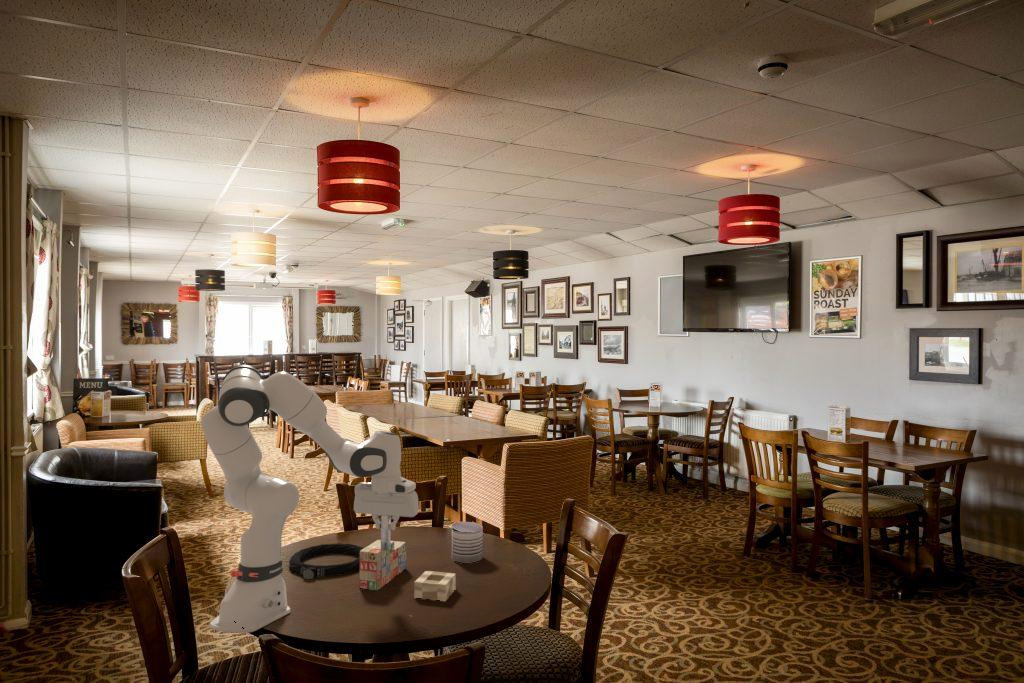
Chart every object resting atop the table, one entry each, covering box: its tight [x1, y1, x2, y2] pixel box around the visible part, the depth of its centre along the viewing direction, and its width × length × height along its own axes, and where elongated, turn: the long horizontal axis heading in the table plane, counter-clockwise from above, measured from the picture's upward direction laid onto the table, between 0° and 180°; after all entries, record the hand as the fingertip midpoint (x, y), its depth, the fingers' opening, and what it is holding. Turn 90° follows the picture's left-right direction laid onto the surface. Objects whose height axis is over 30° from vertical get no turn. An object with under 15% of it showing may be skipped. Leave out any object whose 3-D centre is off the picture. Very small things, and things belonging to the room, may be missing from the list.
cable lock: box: [288, 542, 365, 580], centre depth 232 cm, size 28×4×30 cm
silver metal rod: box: [380, 515, 392, 551], centre depth 203 cm, size 3×3×14 cm
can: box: [451, 521, 484, 563], centre depth 239 cm, size 11×11×12 cm
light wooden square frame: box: [413, 570, 457, 602], centre depth 206 cm, size 10×10×5 cm
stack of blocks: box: [359, 539, 407, 591], centre depth 219 cm, size 21×6×12 cm, turn 164°
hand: (385, 529), depth 203 cm, fingers closed on silver metal rod, 3 cm apart
